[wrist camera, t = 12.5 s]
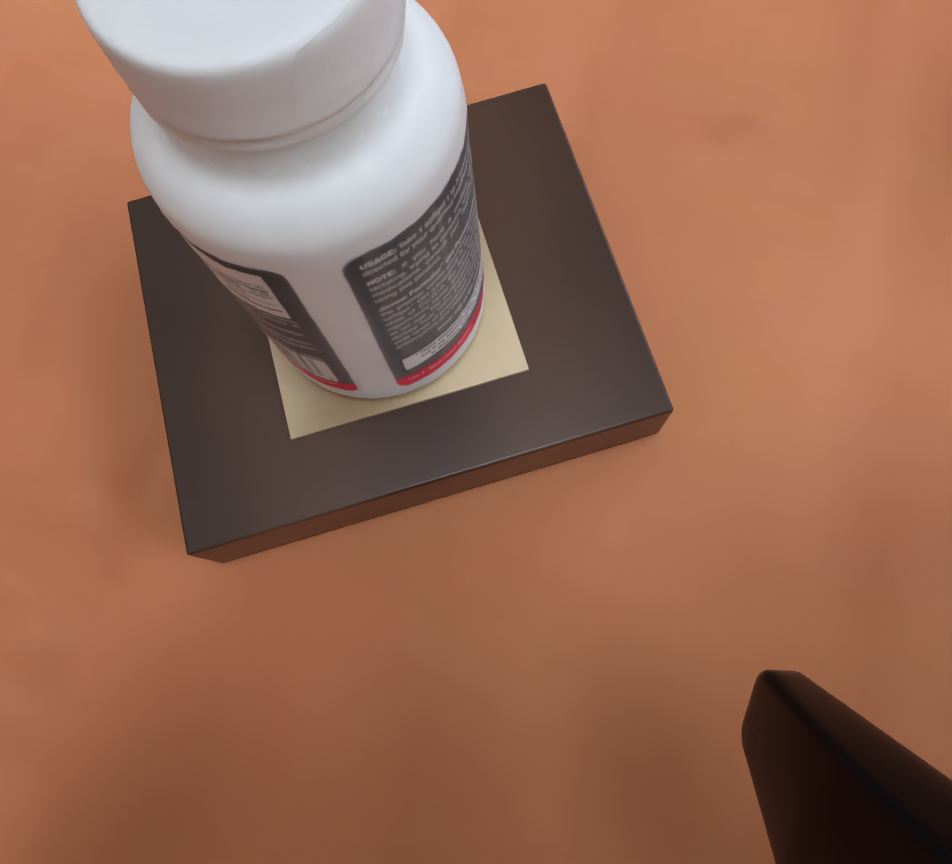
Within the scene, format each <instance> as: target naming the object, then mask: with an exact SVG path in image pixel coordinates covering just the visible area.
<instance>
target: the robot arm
mask: <svg viewBox="0 0 952 864" xmlns="http://www.w3.org/2000/svg"><path fill="white" fill-rule="evenodd" d="M742 744H743V748H744V752H745V756H746V759H747V763H748V766H749V770H750V774H751V777H752V781H753V784H754V788H755V791H756V795H757V799H758V802H759V806H760V809H761V813H762V816H763V820H764V823H765V827H766V831H767V834H768V838H769V841H770V845H771V848H772V852H773V856H774V859H775V863H776V864H952V780H951V779H949V778H948V777H946V776H945V775H944V774H942V773H941V772H939V771H938V770H937V769H935V768H934V767H932V766H931V765H929V764H928V763H927V762H925V761H924V760H922V759H921V758H920V757H918V756H917V755H915V754H914V753H913V752H911V751H910V750H908V749H907V748H906V747H904V746H903V745H901V744H900V743H899V742H897V741H896V740H894V739H893V738H892V737H890V736H889V735H887V734H886V733H884V732H883V731H882V730H880V729H879V728H877V727H876V726H875V725H873V724H872V723H870V722H869V721H868V720H866V719H865V718H863V717H862V716H861V715H859V714H858V713H856V712H855V711H854V710H852V709H851V708H849V707H848V706H846V705H845V704H844V703H842V702H841V701H839V700H838V699H837V698H835V697H834V696H832V695H831V694H830V693H828V692H827V691H825V690H824V689H823V688H821V687H820V686H818V685H817V684H816V683H814V682H813V681H811V680H810V679H809V678H807V677H806V676H804V675H803V674H801V673H799V672H796V671H784V670H765V671H762V672H761V673H760V674H759V675H758V677H757V679H756V681H755V684H754V688H753V691H752V694H751V697H750V701H749V704H748V707H747V710H746V713H745V717H744V720H743V724H742Z"/></svg>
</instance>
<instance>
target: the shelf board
mask: <svg viewBox="0 0 952 864" xmlns="http://www.w3.org/2000/svg"><path fill="white" fill-rule="evenodd" d="M467 111H468V128H469V140H470V148H471V157H472V168H473V176H474V185H475V194H476V201H477V212H478V223H479V233H480V242H481V250H482V259H483V271H484V287H485V299H484V305H483V312H482V316H481V319H480V322H479V325H478V328H477V331H476V334H475V336H474V337H473V339H472V341H471V342H470V344H469V345H468V347H467V348H466V350H465V351H464V353H463V354H462V355H461V356H460V357H459V358H458V360H457V361H456V362H455V363H454V364H453V365H452V366H451V367H450V368H448V369H447V370H446V371H445V372H444V373H443V374H442V375H441V376H439V377H438V378H437V379H435V380H434V381H432V382H431V383H429V384H426V385H424V386H422V387H420V388H418V389H415V390H412V391H410V392H407V393H404V394H401V395H396V396H392V397H383V398H378V399H369V398H356V397H351V396H346V395H342V394H338V393H335V392H332V391H330V390H328V389H326V388H323V387H321V386H320V385H318V384H316V383H314V382H313V381H311V380H310V379H309V378H307V377H306V376H304V375H303V374H302V373H301V372H300V371H299V370H297V369H296V368H295V367H294V366H293V365H292V363H291V362H290V361H289V360H288V359H287V358H286V357H285V356H284V355H283V354H282V353H281V352H280V351H279V349H278V348H277V347H276V346H275V345H274V343H273V342H272V341H271V340H270V339H269V337H268V336H267V335H266V334H265V332H264V331H263V330H262V329H261V328H260V326H259V325H258V324H257V323H256V322H255V321H254V319H253V318H252V317H251V316H250V315H249V314H248V313H247V311H246V310H245V309H244V308H243V307H242V305H241V304H240V303H239V302H238V301H237V300H236V299H235V298H234V296H233V295H232V294H231V293H230V291H229V290H228V289H227V288H226V287H225V286H224V285H223V284H222V282H221V281H220V280H219V279H218V278H217V277H216V275H215V274H214V273H213V271H212V270H211V269H210V268H209V267H208V266H207V265H206V263H205V262H204V261H203V260H202V259H201V257H200V256H199V255H198V254H197V253H196V252H195V251H194V250H193V248H192V247H191V246H190V245H189V244H188V243H187V241H186V240H185V239H184V238H183V237H182V235H181V234H180V233H179V232H178V230H177V229H176V228H175V227H174V226H173V225H172V224H171V223H170V222H169V220H168V219H167V218H166V217H165V216H164V215H163V213H162V212H161V210H160V208H159V206H158V205H157V204H156V202H155V201H154V199H153V198H152V196H147V197H144V198H140V199H137V200H133V201H130V202H128V204H127V205H128V210H129V216H130V222H131V228H132V234H133V240H134V246H135V251H136V257H137V263H138V269H139V275H140V281H141V287H142V293H143V298H144V304H145V310H146V316H147V322H148V328H149V334H150V340H151V345H152V351H153V357H154V363H155V369H156V375H157V381H158V386H159V392H160V398H161V404H162V410H163V416H164V422H165V428H166V433H167V439H168V445H169V451H170V457H171V463H172V469H173V475H174V480H175V486H176V492H177V498H178V504H179V510H180V516H181V521H182V527H183V533H184V539H185V545H186V551H187V554H188V555H191V556H195V557H199V558H203V559H208V560H212V561H216V562H221V563H223V562H226V561H230V560H233V559H236V558H240V557H243V556H246V555H250V554H253V553H257V552H260V551H263V550H267V549H270V548H273V547H277V546H280V545H283V544H287V543H290V542H293V541H297V540H300V539H304V538H307V537H310V536H314V535H317V534H320V533H324V532H327V531H330V530H334V529H337V528H340V527H344V526H347V525H350V524H354V523H357V522H361V521H364V520H367V519H371V518H374V517H377V516H381V515H384V514H387V513H391V512H394V511H397V510H401V509H404V508H408V507H411V506H414V505H418V504H421V503H424V502H428V501H431V500H434V499H438V498H441V497H444V496H448V495H451V494H455V493H458V492H461V491H465V490H468V489H471V488H475V487H478V486H481V485H485V484H488V483H491V482H495V481H498V480H502V479H505V478H508V477H512V476H515V475H518V474H522V473H525V472H528V471H532V470H535V469H538V468H542V467H545V466H548V465H552V464H555V463H559V462H562V461H565V460H569V459H572V458H575V457H579V456H582V455H585V454H589V453H592V452H595V451H599V450H602V449H606V448H609V447H612V446H616V445H619V444H622V443H626V442H629V441H632V440H636V439H639V438H642V437H646V436H649V435H653V434H656V433H658V432H659V430H660V429H661V427H662V426H663V424H664V423H665V422H666V420H667V419H668V417H669V416H670V414H671V413H672V412H673V407H672V404H671V402H670V399H669V396H668V394H667V391H666V389H665V386H664V384H663V381H662V379H661V376H660V374H659V371H658V368H657V366H656V363H655V361H654V358H653V356H652V353H651V351H650V348H649V345H648V343H647V340H646V338H645V335H644V333H643V330H642V328H641V325H640V322H639V320H638V317H637V315H636V312H635V310H634V307H633V305H632V302H631V300H630V297H629V294H628V292H627V289H626V287H625V284H624V282H623V279H622V277H621V274H620V271H619V269H618V266H617V264H616V261H615V259H614V256H613V254H612V251H611V248H610V246H609V243H608V241H607V238H606V236H605V233H604V231H603V228H602V226H601V223H600V220H599V218H598V215H597V213H596V210H595V208H594V205H593V203H592V200H591V197H590V195H589V192H588V190H587V187H586V185H585V182H584V180H583V177H582V174H581V172H580V169H579V167H578V164H577V162H576V159H575V157H574V154H573V152H572V149H571V146H570V144H569V141H568V139H567V136H566V134H565V131H564V129H563V126H562V123H561V121H560V118H559V116H558V113H557V111H556V108H555V106H554V103H553V100H552V98H551V95H550V93H549V90H548V88H547V85H546V84H540V85H537V86H533V87H530V88H526V89H523V90H519V91H516V92H512V93H509V94H505V95H502V96H498V97H495V98H491V99H488V100H484V101H481V102H477V103H474V104H470V105H467Z"/></svg>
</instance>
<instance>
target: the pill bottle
mask: <svg viewBox="0 0 952 864" xmlns="http://www.w3.org/2000/svg"><path fill="white" fill-rule="evenodd" d="M75 1H76V4H77V7H78V10H79V12H80V14H81V16H82V18H83V20H84V22H85V23H86V25H87V27H88V29H89V31H90V32H91V34H92V35H93V37H94V38H95V40H96V41H97V43H98V44H99V46H100V47H101V49H102V50H103V52H104V53H105V55H106V56H107V58H108V59H109V61H110V62H111V64H112V65H113V67H114V68H115V69H116V71H117V72H118V73H119V75H120V76H121V77H122V79H123V80H124V81H125V83H126V84H127V86H128V88H129V89H130V91H131V92H132V94H133V96H132V102H131V110H130V135H131V142H132V149H133V153H134V157H135V160H136V164H137V167H138V170H139V172H140V175H141V177H142V179H143V181H144V183H145V185H146V187H147V189H148V191H149V193H150V194H151V196H152V198H153V199H154V201H155V202H156V204H157V205H158V206H159V208H160V210H161V212H162V213H163V215H164V216H165V217H166V218H167V219H168V220H169V222H170V223H171V224H172V225H173V226H174V227H175V228H176V229H177V230H178V232H179V233H180V234H181V235H182V237H183V238H184V239H185V240H186V241H187V243H188V244H189V245H190V246H191V247H192V248H193V250H194V251H195V252H196V253H197V254H198V255H199V256H200V257H201V259H202V260H203V261H204V262H205V263H206V265H207V266H208V267H209V268H210V269H211V270H212V271H213V273H214V274H215V275H216V277H217V278H218V279H219V280H220V281H221V282H222V284H223V285H224V286H225V287H226V288H227V289H228V290H229V291H230V293H231V294H232V295H233V296H234V298H235V299H236V300H237V301H238V302H239V303H240V304H241V305H242V307H243V308H244V309H245V310H246V311H247V313H248V314H249V315H250V316H251V317H252V318H253V319H254V321H255V322H256V323H257V324H258V325H259V326H260V328H261V329H262V330H263V331H264V332H265V334H266V335H267V336H268V337H269V339H270V340H271V341H272V342H273V343H274V345H275V346H276V347H277V348H278V349H279V351H280V352H281V353H282V354H283V355H284V356H285V357H286V358H287V359H288V360H289V361H290V362H291V363H292V365H293V366H294V367H295V368H296V369H297V370H299V371H300V372H301V373H302V374H303V375H304V376H306V377H307V378H309V379H310V380H311V381H313V382H314V383H316V384H318V385H320V386H321V387H323V388H326V389H328V390H330V391H332V392H335V393H338V394H342V395H346V396H351V397H356V398H369V399H378V398H383V397H392V396H396V395H401V394H404V393H407V392H410V391H412V390H415V389H418V388H420V387H422V386H424V385H426V384H429V383H431V382H432V381H434V380H435V379H437V378H438V377H439V376H441V375H442V374H443V373H444V372H445V371H446V370H447V369H448V368H450V367H451V366H452V365H453V364H454V363H455V362H456V361H457V360H458V358H459V357H460V356H461V355H462V354H463V353H464V351H465V350H466V348H467V347H468V345H469V344H470V342H471V341H472V339H473V337H474V336H475V334H476V331H477V328H478V325H479V322H480V319H481V316H482V312H483V305H484V299H485V287H484V271H483V259H482V250H481V242H480V233H479V223H478V212H477V201H476V194H475V185H474V176H473V168H472V157H471V148H470V140H469V128H468V111H467V103H466V97H465V91H464V88H463V85H462V80H461V76H460V72H459V69H458V66H457V62H456V59H455V57H454V54H453V52H452V50H451V47H450V45H449V43H448V41H447V40H446V38H445V36H444V34H443V33H442V31H441V29H440V28H439V27H438V25H437V24H436V23H435V21H434V20H433V19H432V17H431V16H430V15H429V14H428V13H427V12H426V11H425V10H424V9H423V7H422V6H420V5H419V4H418V3H417V2H416V1H415V0H75Z"/></svg>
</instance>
